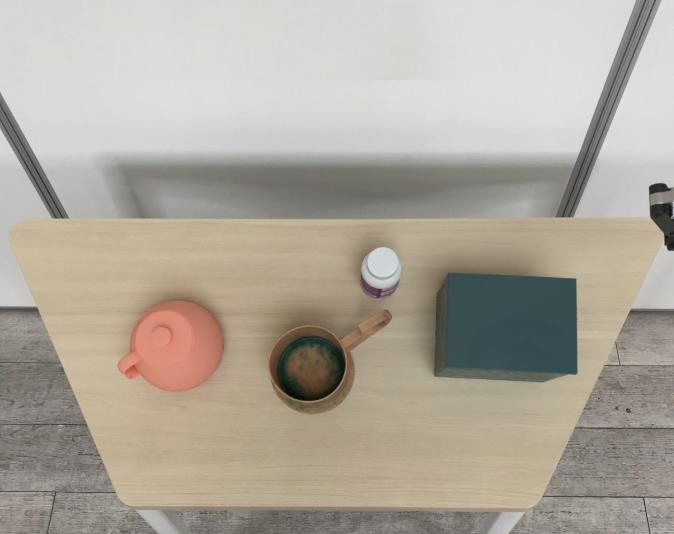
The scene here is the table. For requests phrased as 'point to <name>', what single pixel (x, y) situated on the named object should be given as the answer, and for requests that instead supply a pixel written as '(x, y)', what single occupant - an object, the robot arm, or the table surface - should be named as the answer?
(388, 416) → the table surface
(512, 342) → the lid
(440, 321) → the teal storage bin
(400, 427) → the table surface
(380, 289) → the pill bottle
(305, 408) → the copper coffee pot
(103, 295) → the table surface
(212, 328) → the sugar bowl
